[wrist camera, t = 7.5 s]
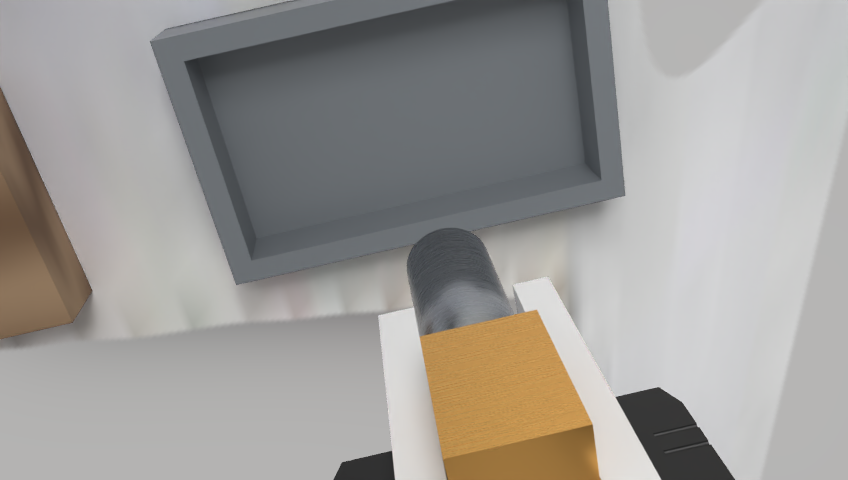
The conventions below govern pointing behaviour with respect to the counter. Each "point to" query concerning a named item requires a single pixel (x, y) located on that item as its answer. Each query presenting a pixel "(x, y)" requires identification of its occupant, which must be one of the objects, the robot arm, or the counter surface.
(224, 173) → the parts tray
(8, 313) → the block
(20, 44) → the counter surface
